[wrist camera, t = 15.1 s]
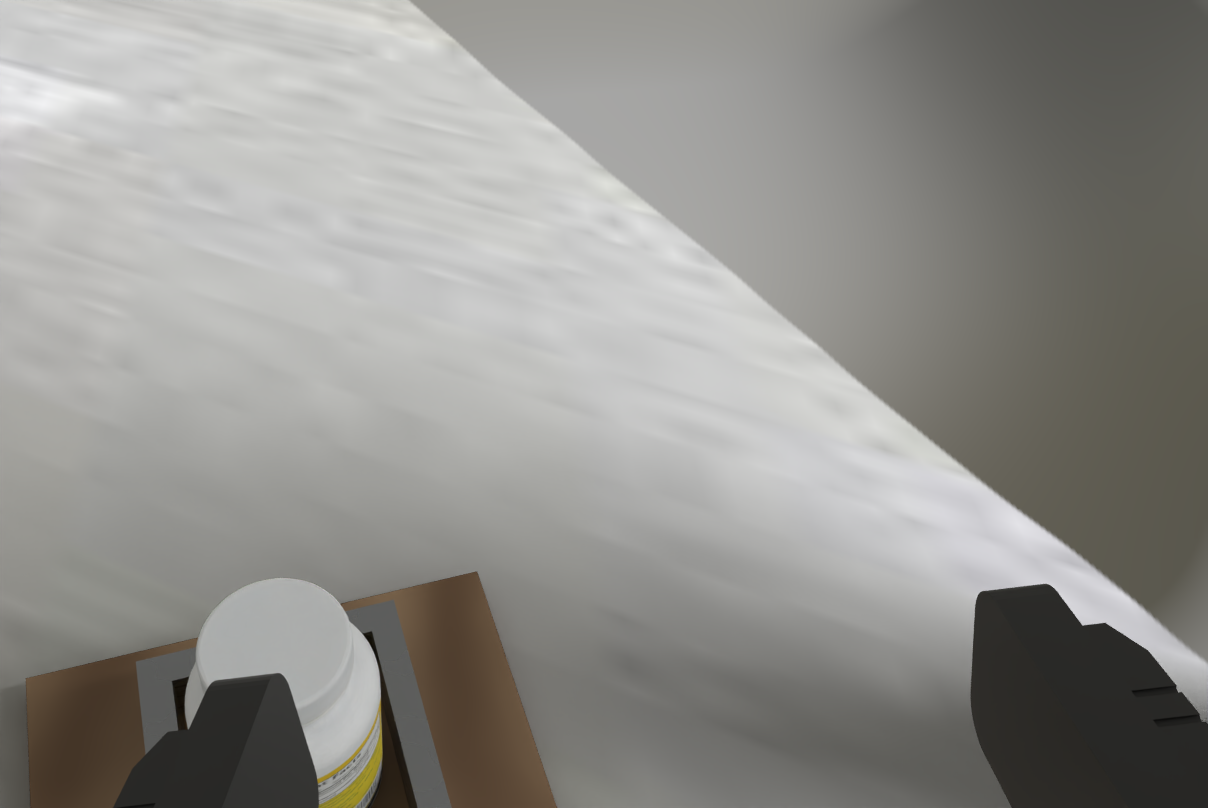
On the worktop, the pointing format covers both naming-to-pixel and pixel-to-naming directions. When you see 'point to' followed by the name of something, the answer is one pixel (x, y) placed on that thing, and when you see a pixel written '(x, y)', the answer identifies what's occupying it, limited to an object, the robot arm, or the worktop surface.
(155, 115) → the worktop surface
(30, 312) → the worktop surface
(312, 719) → the supplement bottle
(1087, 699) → the robot arm
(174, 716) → the collar
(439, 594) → the holder plate
